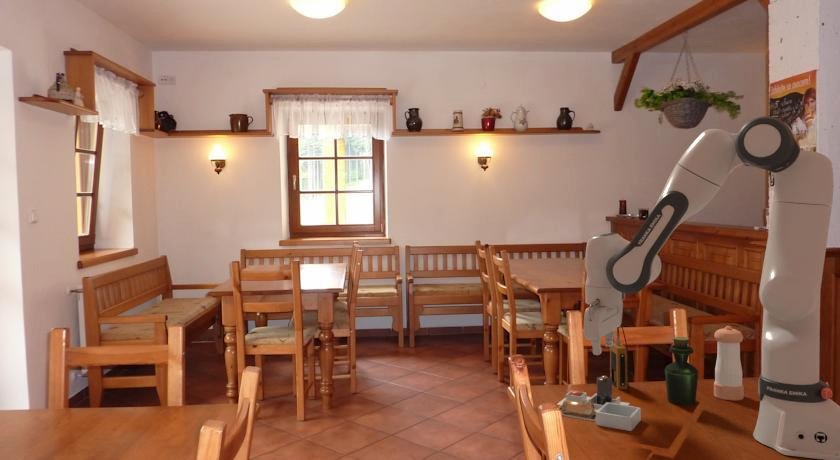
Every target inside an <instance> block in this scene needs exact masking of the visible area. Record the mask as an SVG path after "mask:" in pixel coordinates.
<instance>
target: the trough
mask: <svg viewBox="0 0 840 460" xmlns="http://www.w3.org/2000/svg"><path fill="white" fill-rule="evenodd" d="M558 407H559V408H560V409H559V410H562V405H558ZM595 414H596V411H595ZM562 415H563V416H562V417H566V418H572V419H577V420H578V419H579V420H585V421H589V422H595V423H596V416H595V417H594V418H585V417H579V416H574V415H568V414H563V413H562Z"/></svg>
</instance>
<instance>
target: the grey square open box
mask: <svg viewBox="0 0 840 460" xmlns="http://www.w3.org/2000/svg"><path fill="white" fill-rule="evenodd" d="M641 413H642V408H641V407H640V406H639V407H638V406H633V405H628V406H627V405H621V404H615V403H608V402H606V403H605V404H604V405H603V406H602V407H601V408H600V409H599V410H598V411H596V413H595V417H596V421H595V425H596V426H601V427H606V428H612V429H617V430H623V431H628V432H629V431H630V432H632V431H633V430H634V429H635V428H636V426H637V425H638V424H639V423H640V422H641V421H642V419H641V418H642V417H641V415H642V414H641Z"/></svg>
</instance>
